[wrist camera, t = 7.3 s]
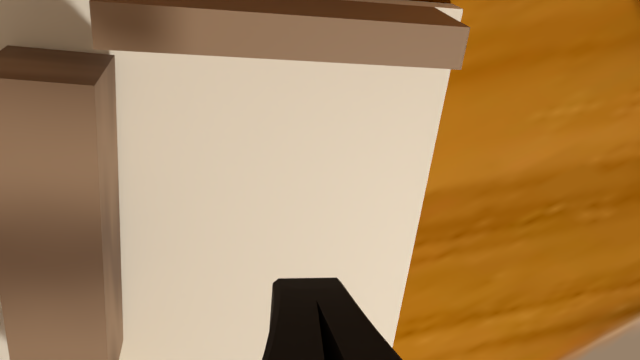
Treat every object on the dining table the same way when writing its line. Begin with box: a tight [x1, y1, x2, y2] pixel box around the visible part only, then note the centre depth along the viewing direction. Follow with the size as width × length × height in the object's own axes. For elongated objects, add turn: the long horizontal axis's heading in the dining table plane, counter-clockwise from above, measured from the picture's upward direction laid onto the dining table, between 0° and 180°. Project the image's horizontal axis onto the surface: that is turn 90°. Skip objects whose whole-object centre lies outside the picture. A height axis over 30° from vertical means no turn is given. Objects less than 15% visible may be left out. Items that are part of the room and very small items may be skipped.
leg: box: [0, 45, 123, 360], centre depth 18 cm, size 12×3×3 cm, turn 172°
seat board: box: [0, 0, 470, 360], centre depth 19 cm, size 18×18×4 cm
